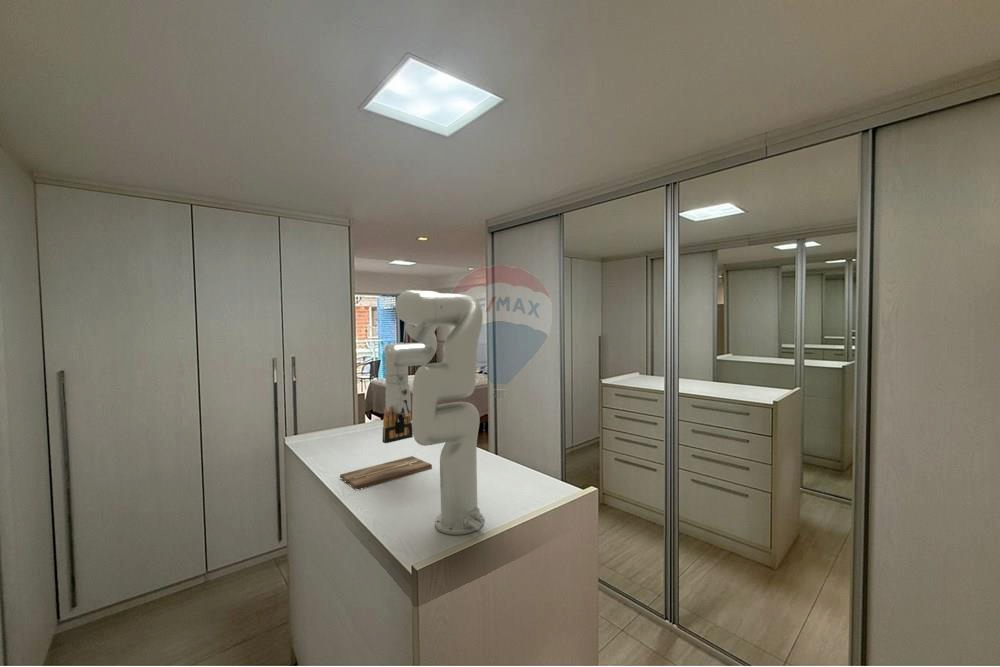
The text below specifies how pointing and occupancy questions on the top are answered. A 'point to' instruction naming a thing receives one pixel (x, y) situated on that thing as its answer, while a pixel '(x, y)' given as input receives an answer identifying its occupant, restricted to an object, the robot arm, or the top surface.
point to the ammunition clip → (389, 427)
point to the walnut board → (385, 472)
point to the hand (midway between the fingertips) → (397, 432)
